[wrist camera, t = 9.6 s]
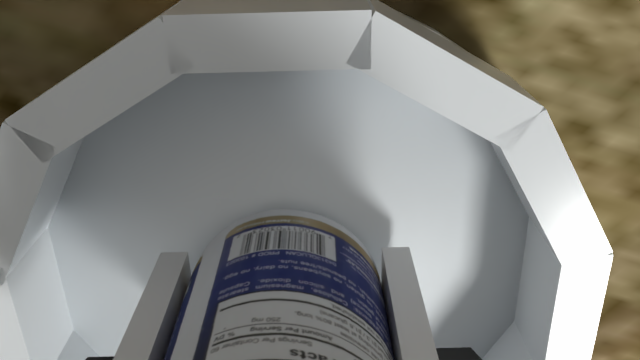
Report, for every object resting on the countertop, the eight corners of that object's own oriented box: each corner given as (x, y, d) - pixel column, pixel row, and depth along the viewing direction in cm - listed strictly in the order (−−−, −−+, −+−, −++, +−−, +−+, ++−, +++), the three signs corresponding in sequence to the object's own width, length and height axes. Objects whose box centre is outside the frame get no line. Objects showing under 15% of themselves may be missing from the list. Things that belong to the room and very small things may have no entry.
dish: (85, 446, 22) (45, 538, 19) (-36, -3, 15) (-130, 22, 12) (519, 438, 22) (554, 529, 19) (594, -19, 15) (668, 2, 12)
